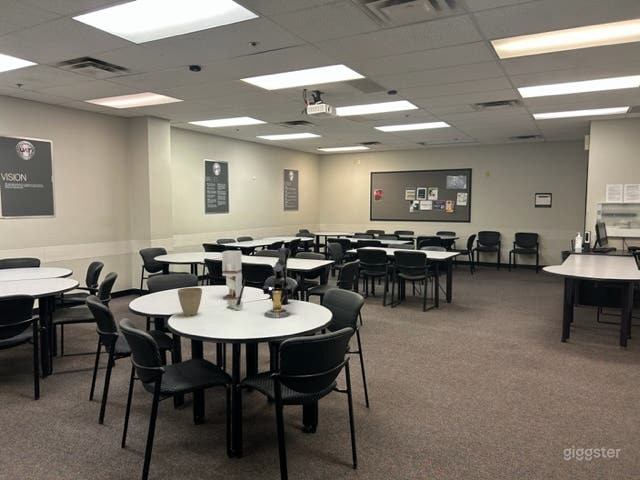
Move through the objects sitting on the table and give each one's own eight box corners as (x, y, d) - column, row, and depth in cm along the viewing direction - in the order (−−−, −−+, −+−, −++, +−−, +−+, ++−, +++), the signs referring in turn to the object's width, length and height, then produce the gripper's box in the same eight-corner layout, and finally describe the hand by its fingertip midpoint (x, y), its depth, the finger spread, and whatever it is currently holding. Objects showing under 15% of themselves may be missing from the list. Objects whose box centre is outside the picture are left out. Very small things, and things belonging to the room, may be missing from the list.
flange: (266, 311, 291) (266, 308, 291) (291, 312, 290) (291, 308, 290) (262, 317, 275) (262, 313, 275) (288, 318, 274) (288, 314, 274)
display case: (228, 296, 340) (227, 250, 338) (241, 297, 339) (241, 250, 336) (222, 299, 329) (222, 252, 327) (236, 300, 328) (236, 252, 325)
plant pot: (181, 312, 290) (180, 287, 289) (204, 311, 291) (204, 287, 290) (175, 317, 275) (174, 291, 274) (200, 317, 276) (199, 291, 275)
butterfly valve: (223, 305, 307) (230, 308, 291) (231, 277, 310) (239, 278, 294) (235, 308, 310) (243, 311, 295) (243, 280, 313) (251, 281, 298)
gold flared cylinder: (274, 309, 286) (274, 289, 285) (283, 310, 285) (283, 290, 284) (270, 312, 280) (270, 291, 279) (280, 312, 279) (280, 291, 278)
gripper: (263, 273, 285) (260, 293, 275) (292, 273, 284) (290, 294, 274) (265, 283, 294) (262, 303, 283) (293, 283, 293) (292, 304, 283)
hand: (276, 301), depth 281 cm, fingers closed on gold flared cylinder, 5 cm apart
